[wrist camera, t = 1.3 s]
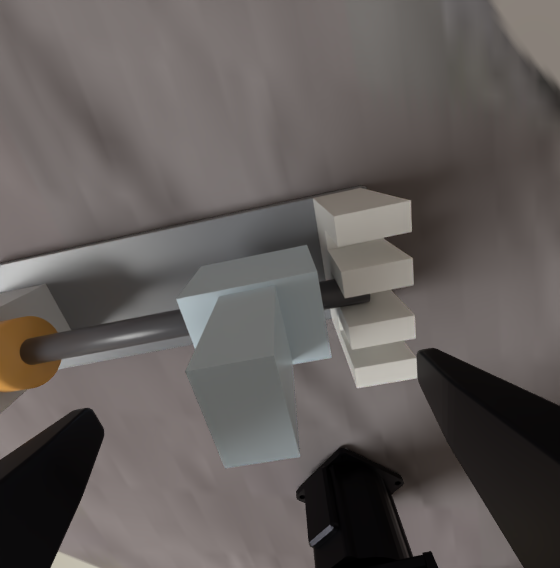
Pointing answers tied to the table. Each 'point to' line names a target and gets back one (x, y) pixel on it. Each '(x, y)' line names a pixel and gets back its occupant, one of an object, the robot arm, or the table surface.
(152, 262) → the grey slide rail
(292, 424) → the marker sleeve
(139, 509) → the table surface
